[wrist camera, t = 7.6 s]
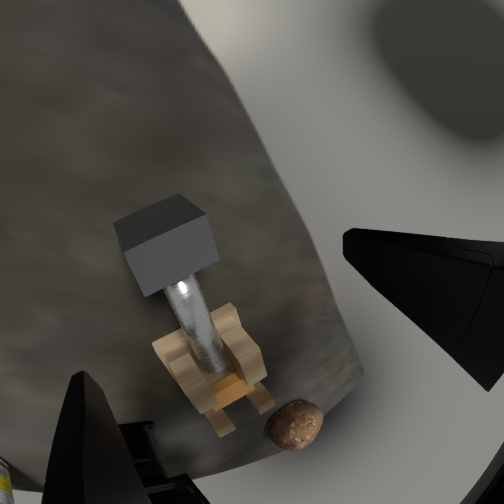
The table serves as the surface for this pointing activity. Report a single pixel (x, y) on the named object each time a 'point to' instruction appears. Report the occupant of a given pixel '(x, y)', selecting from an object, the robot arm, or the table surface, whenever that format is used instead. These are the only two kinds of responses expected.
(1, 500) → the supplement bottle
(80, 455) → the robot arm
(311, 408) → the mushroom
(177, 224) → the shaft
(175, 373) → the bearing block
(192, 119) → the table surface
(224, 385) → the block
